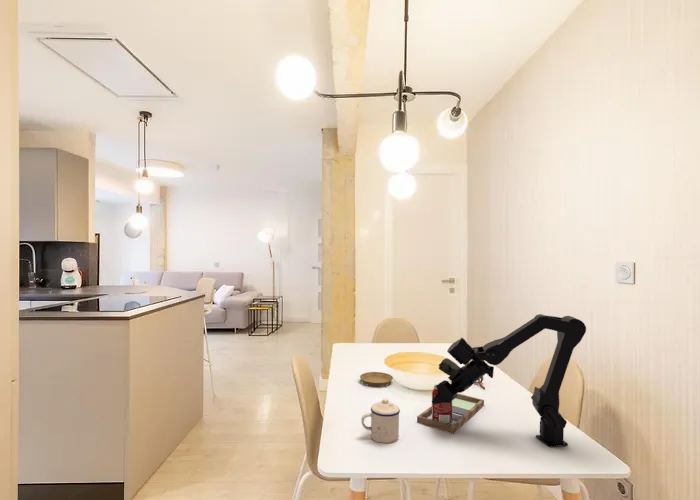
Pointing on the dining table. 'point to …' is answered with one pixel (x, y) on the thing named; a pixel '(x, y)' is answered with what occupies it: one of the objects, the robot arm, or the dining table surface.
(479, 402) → the walnut tray
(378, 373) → the plant saucer
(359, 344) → the dining table surface
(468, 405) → the pad
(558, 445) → the robot arm
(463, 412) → the pads
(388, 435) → the teacup with lid
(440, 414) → the soda can
